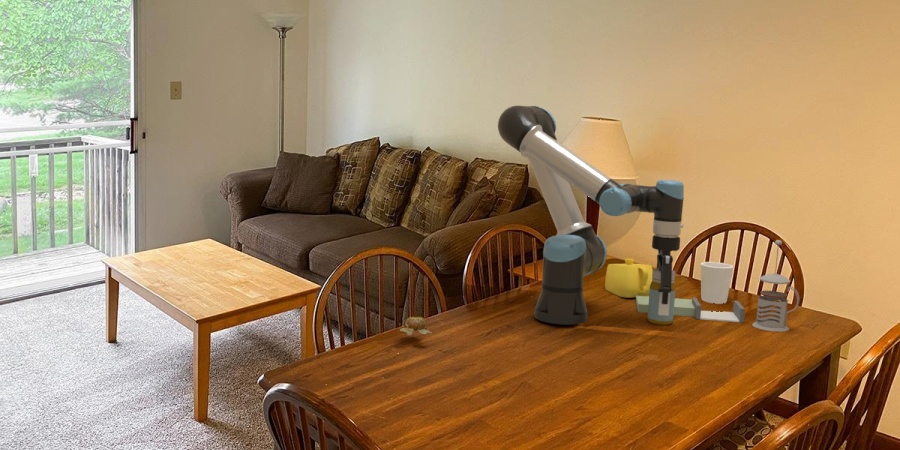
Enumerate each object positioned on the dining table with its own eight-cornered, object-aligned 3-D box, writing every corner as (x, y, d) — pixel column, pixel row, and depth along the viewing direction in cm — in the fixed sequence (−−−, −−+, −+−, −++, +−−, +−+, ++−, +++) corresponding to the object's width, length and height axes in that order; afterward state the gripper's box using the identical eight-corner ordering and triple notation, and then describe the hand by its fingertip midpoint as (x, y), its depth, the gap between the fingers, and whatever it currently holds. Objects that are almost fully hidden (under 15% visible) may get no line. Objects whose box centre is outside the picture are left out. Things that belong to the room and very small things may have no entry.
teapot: (594, 293, 262) (594, 257, 261) (625, 291, 266) (625, 256, 266) (630, 298, 243) (629, 260, 243) (663, 296, 248) (662, 259, 248)
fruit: (400, 335, 200) (400, 320, 199) (398, 328, 208) (399, 314, 207) (432, 335, 200) (433, 320, 200) (430, 328, 209) (430, 314, 208)
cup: (736, 306, 249) (740, 266, 247) (716, 309, 243) (720, 268, 241) (710, 299, 257) (713, 260, 255) (690, 302, 251) (693, 263, 249)
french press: (757, 320, 231) (764, 236, 228) (799, 327, 224) (808, 241, 221) (748, 327, 223) (755, 239, 220) (791, 334, 216) (800, 245, 213)
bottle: (673, 326, 220) (677, 273, 218) (647, 324, 222) (651, 271, 220) (671, 320, 227) (675, 269, 225) (646, 318, 229) (650, 267, 227)
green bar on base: (638, 314, 233) (639, 301, 232) (635, 303, 247) (636, 290, 246) (743, 322, 228) (745, 309, 227) (734, 310, 242) (735, 297, 242)
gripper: (685, 243, 208) (679, 321, 211) (675, 230, 233) (670, 300, 236) (656, 241, 210) (651, 319, 212) (649, 228, 234) (644, 298, 237)
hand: (661, 309), depth 224 cm, fingers open, 13 cm apart
